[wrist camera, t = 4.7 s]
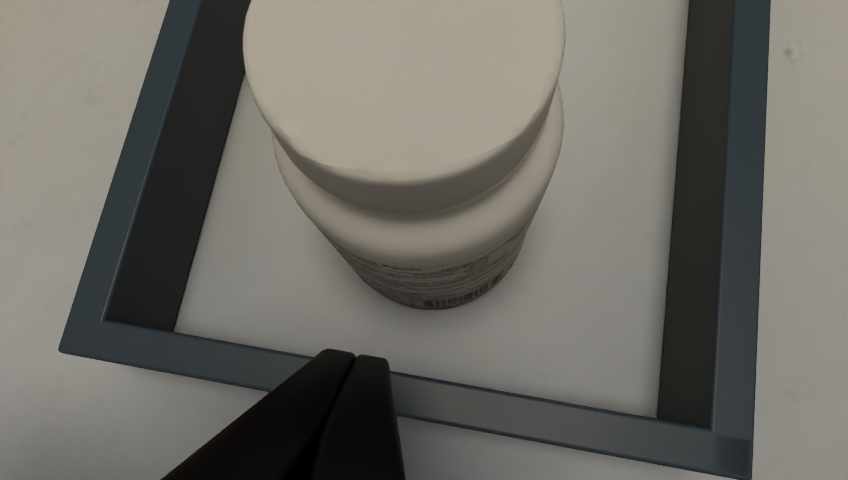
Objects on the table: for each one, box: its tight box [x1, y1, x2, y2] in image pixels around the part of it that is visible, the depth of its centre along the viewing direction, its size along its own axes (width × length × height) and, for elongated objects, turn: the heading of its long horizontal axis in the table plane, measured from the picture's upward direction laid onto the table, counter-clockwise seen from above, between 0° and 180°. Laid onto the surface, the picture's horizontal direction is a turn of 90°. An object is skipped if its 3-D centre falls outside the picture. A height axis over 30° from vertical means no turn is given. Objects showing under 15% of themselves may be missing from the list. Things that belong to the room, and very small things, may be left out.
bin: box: [58, 0, 771, 480], centre depth 15 cm, size 18×14×3 cm
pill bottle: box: [243, 0, 565, 309], centre depth 11 cm, size 5×5×8 cm
